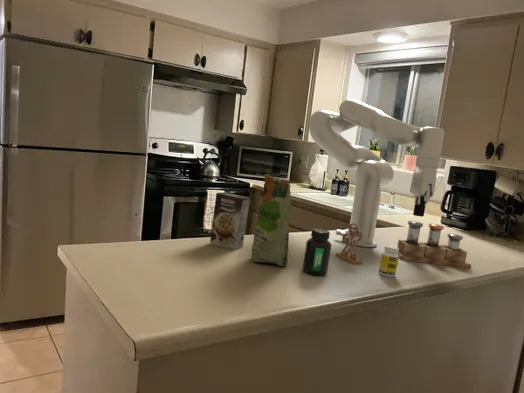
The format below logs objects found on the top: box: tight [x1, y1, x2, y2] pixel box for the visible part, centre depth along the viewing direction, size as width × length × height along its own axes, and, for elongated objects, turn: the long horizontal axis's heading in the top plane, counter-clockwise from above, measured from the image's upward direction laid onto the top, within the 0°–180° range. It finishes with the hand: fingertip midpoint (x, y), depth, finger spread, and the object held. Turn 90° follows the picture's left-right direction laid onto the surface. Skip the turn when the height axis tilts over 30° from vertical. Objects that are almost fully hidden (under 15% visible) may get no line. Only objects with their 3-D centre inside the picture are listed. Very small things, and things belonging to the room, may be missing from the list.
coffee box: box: [209, 191, 251, 251], centre depth 137 cm, size 9×6×16 cm
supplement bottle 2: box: [378, 244, 399, 278], centre depth 129 cm, size 5×5×8 cm
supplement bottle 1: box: [302, 228, 332, 277], centre depth 121 cm, size 7×7×12 cm
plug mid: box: [426, 223, 445, 248], centre depth 155 cm, size 5×5×8 cm
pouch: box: [250, 173, 292, 267], centre depth 124 cm, size 11×12×25 cm
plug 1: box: [406, 220, 424, 245], centre depth 155 cm, size 5×5×8 cm
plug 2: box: [446, 233, 464, 250], centre depth 156 cm, size 5×5×8 cm
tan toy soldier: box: [334, 223, 363, 266], centre depth 139 cm, size 9×4×12 cm, turn 30°
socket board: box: [396, 239, 472, 269], centre depth 156 cm, size 25×10×5 cm, turn 93°
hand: (418, 215), depth 153 cm, fingers closed
